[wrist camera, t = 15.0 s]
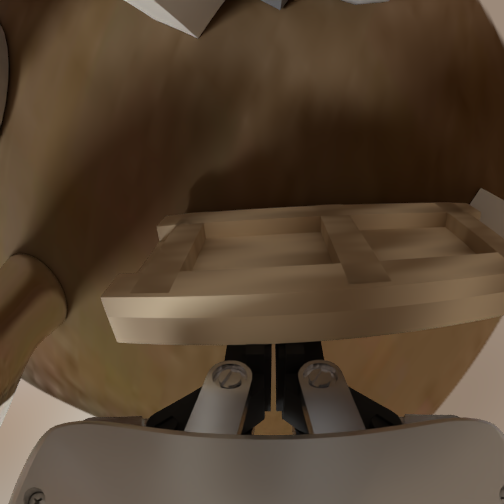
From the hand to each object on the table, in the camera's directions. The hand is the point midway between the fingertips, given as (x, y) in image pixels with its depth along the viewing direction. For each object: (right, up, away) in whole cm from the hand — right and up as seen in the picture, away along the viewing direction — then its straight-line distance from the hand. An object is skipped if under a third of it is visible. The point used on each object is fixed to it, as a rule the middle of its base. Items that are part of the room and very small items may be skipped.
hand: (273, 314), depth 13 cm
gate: (+3, +4, +2) cm, 5 cm away
